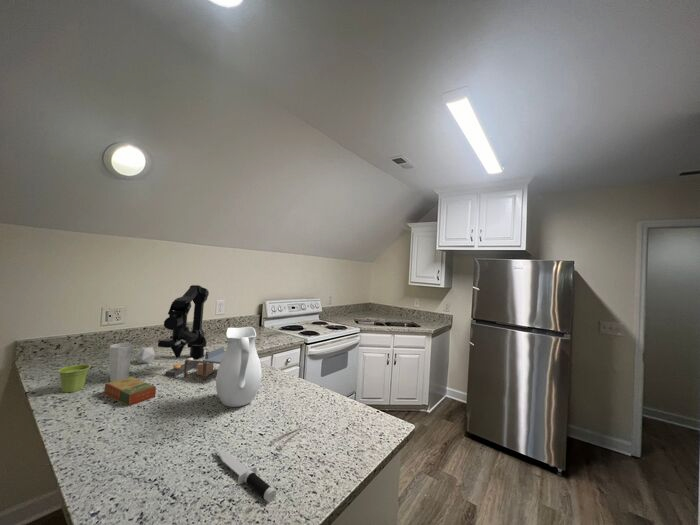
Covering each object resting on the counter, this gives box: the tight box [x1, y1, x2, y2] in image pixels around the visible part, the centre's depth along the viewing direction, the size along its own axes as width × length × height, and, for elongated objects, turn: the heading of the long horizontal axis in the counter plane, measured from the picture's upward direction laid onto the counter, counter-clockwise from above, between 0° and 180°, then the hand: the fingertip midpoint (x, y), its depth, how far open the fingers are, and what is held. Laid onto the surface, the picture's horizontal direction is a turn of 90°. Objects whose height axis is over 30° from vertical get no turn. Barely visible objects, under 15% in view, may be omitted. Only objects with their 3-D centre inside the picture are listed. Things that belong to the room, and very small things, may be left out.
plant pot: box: [57, 364, 91, 394], centre depth 113 cm, size 9×9×9 cm
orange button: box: [172, 363, 182, 369], centre depth 135 cm, size 3×3×1 cm
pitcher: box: [215, 326, 263, 408], centre depth 107 cm, size 24×17×28 cm
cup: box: [108, 342, 134, 382], centre depth 125 cm, size 8×8×16 cm
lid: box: [202, 346, 226, 365], centre depth 135 cm, size 11×16×3 cm
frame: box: [183, 351, 210, 381], centre depth 137 cm, size 11×15×8 cm
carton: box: [104, 376, 157, 407], centre depth 110 cm, size 10×18×5 cm, turn 64°
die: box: [134, 346, 156, 365], centre depth 148 cm, size 8×9×10 cm
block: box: [196, 362, 215, 377], centre depth 136 cm, size 5×5×5 cm
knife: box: [214, 448, 277, 504], centre depth 71 cm, size 26×2×5 cm
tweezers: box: [268, 426, 305, 451], centre depth 89 cm, size 18×5×2 cm, turn 148°
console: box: [165, 362, 200, 378], centre depth 139 cm, size 5×16×2 cm, turn 169°
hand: (177, 357), depth 135 cm, fingers closed
